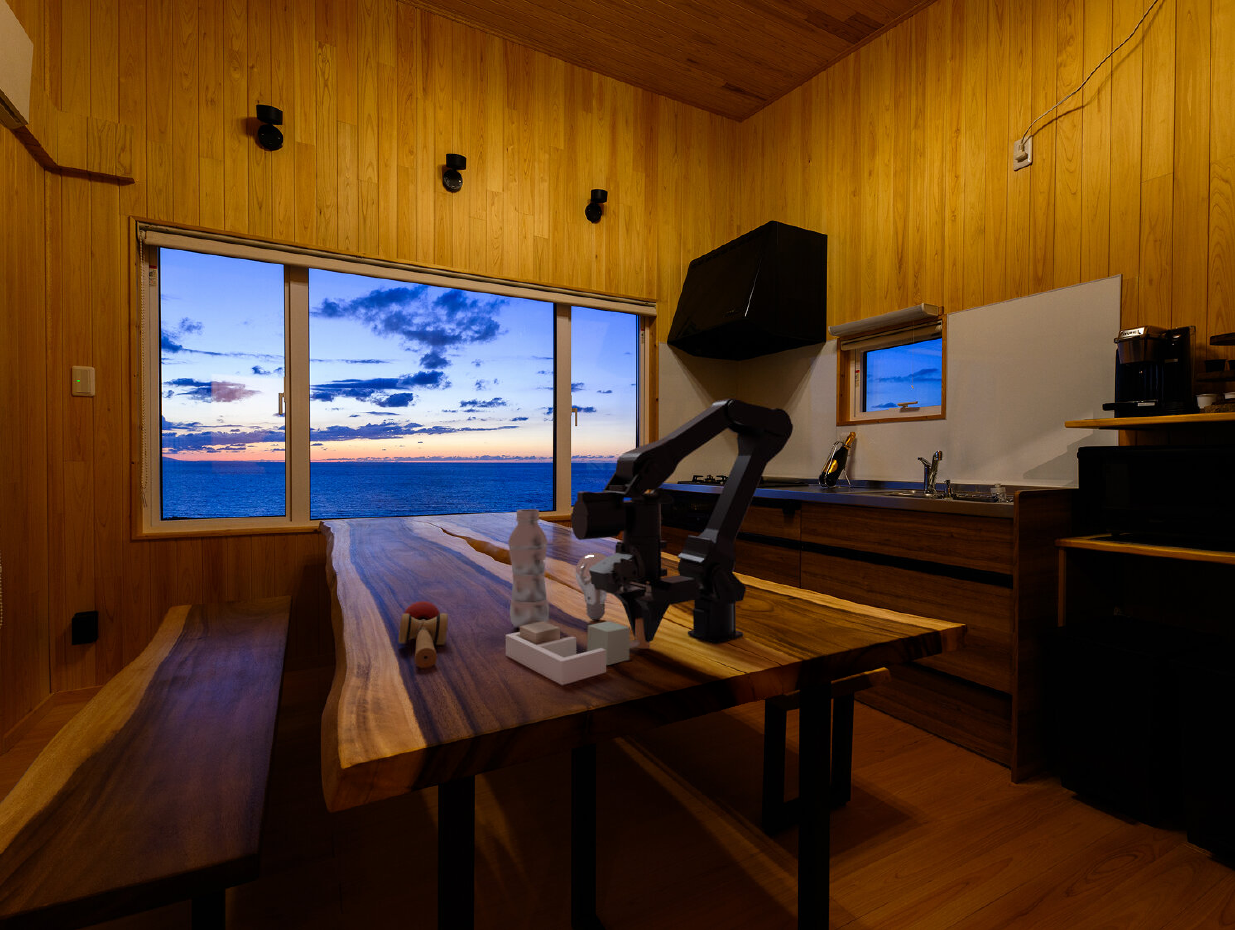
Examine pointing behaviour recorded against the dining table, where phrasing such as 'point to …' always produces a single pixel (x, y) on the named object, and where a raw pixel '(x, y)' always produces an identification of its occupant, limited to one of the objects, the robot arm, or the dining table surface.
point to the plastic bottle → (528, 570)
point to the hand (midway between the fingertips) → (643, 639)
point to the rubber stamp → (615, 639)
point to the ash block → (539, 632)
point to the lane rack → (556, 658)
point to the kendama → (424, 631)
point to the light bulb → (591, 586)
